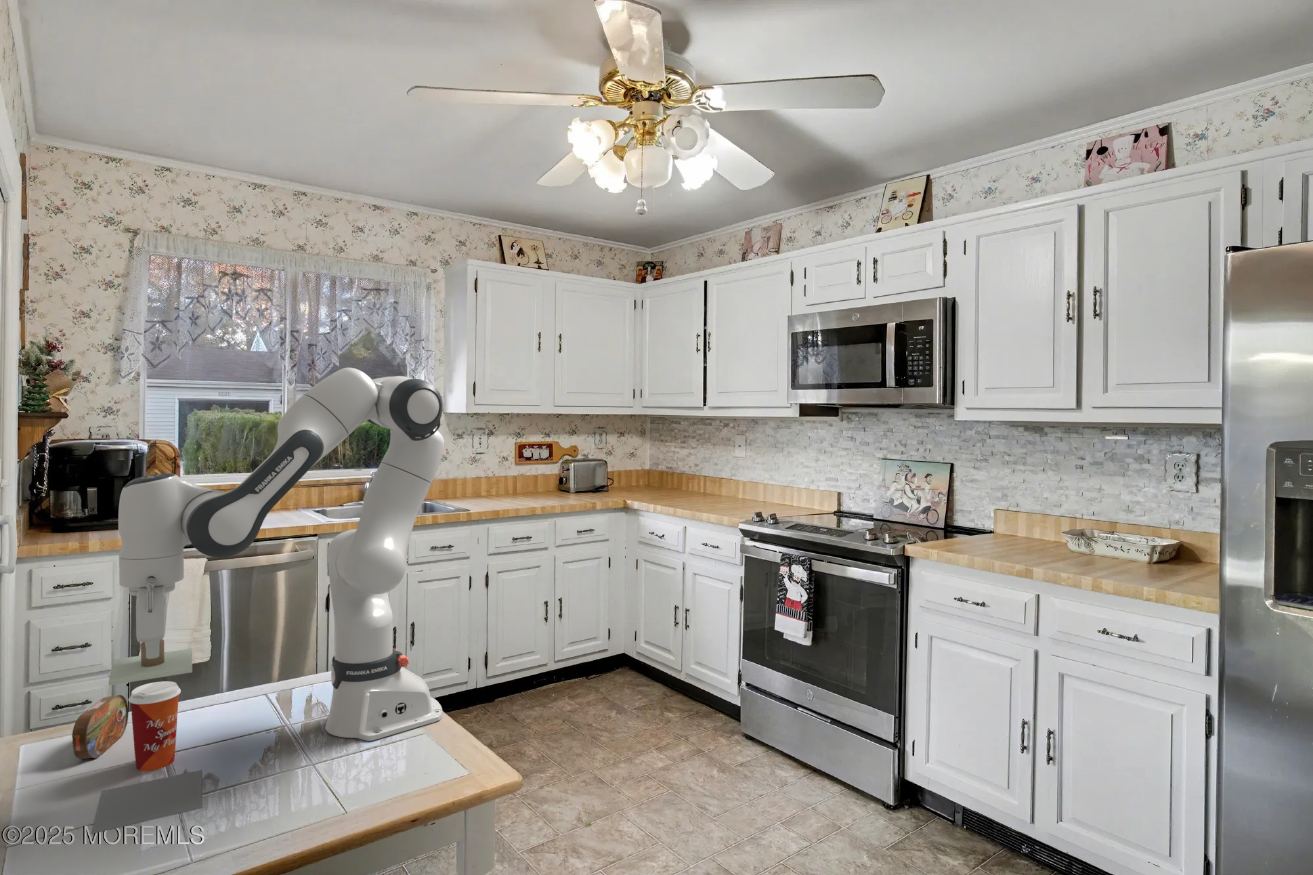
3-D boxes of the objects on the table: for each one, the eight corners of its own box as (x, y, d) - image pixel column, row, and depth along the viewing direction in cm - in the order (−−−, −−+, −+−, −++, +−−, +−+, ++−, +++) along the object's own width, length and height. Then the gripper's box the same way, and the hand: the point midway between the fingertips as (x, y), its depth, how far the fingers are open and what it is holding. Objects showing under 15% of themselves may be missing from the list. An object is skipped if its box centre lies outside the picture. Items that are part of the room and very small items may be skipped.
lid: (191, 652, 128) (191, 628, 128) (192, 672, 119) (191, 645, 119) (114, 663, 122) (114, 638, 122) (108, 685, 113) (108, 657, 113)
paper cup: (154, 778, 124) (154, 698, 124) (117, 773, 126) (116, 694, 125) (192, 757, 132) (191, 681, 131) (156, 752, 133) (156, 677, 133)
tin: (88, 766, 128) (88, 719, 128) (68, 768, 127) (67, 721, 127) (130, 729, 143) (130, 687, 142) (112, 731, 142) (112, 688, 142)
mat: (202, 771, 127) (202, 769, 127) (202, 810, 115) (202, 807, 115) (102, 793, 119) (102, 790, 119) (91, 836, 107) (91, 833, 107)
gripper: (174, 582, 113) (175, 668, 114) (175, 558, 130) (176, 633, 131) (124, 587, 110) (125, 676, 110) (132, 562, 127) (133, 639, 127)
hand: (153, 653), depth 121 cm, fingers closed on lid, 3 cm apart
